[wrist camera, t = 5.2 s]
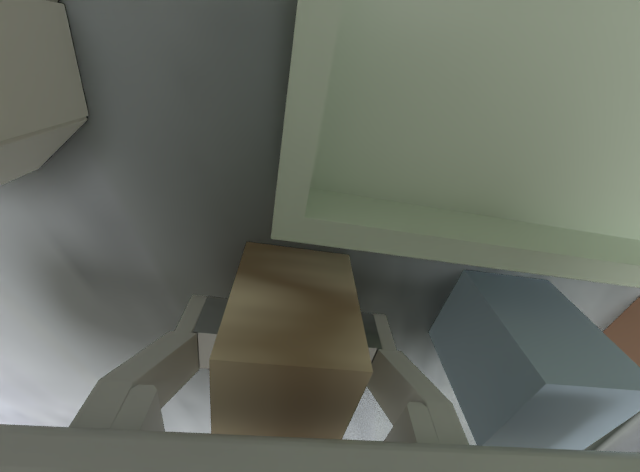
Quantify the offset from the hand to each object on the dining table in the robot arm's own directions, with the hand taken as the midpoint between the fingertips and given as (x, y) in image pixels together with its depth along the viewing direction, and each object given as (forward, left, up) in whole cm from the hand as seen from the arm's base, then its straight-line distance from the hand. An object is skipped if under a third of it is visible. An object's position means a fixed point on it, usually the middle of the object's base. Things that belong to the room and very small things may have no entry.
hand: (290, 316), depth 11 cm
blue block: (+9, 0, -2) cm, 9 cm away
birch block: (0, 0, -2) cm, 2 cm away
